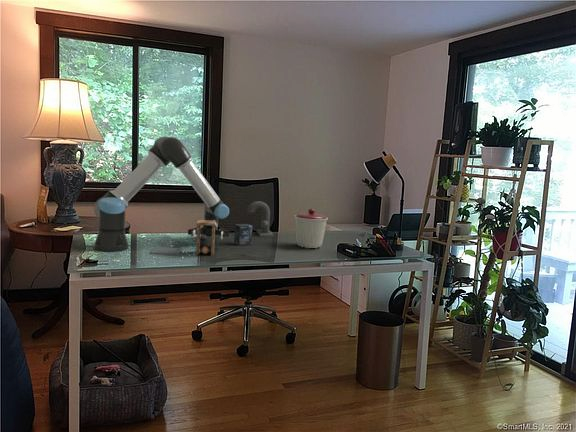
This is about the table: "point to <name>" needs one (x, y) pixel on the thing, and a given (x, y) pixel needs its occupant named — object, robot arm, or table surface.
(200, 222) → the wooden open frame
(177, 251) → the mat
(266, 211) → the faucet
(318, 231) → the canister
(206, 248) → the ball
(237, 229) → the box
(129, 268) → the table surface
